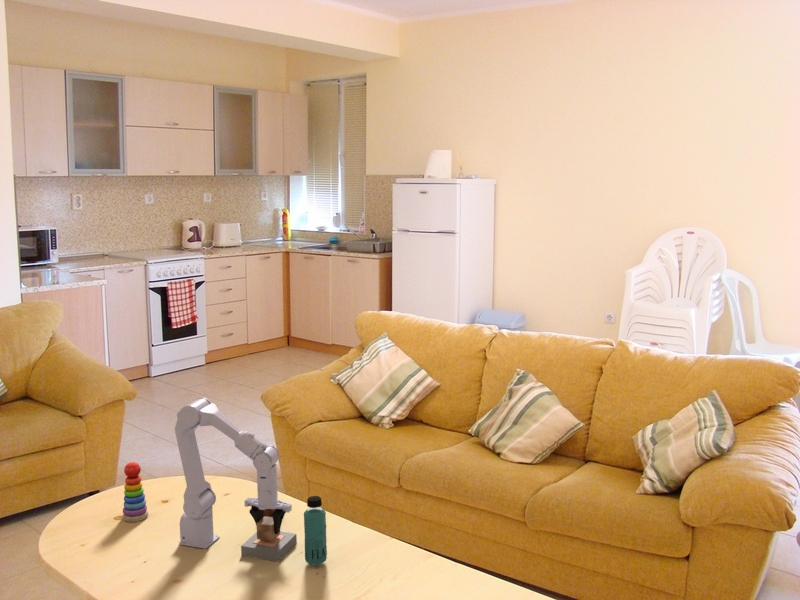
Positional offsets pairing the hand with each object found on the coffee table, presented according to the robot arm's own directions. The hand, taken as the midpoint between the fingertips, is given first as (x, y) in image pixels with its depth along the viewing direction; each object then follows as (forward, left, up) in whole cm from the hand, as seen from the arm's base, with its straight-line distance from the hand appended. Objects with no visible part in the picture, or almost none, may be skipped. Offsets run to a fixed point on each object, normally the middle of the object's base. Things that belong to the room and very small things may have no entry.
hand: (268, 531), depth 227 cm
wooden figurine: (-8, +16, -6) cm, 19 cm away
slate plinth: (0, 0, -6) cm, 6 cm away
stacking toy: (-52, +6, -6) cm, 53 cm away
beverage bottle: (+17, -4, -6) cm, 18 cm away
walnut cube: (0, 0, -2) cm, 2 cm away
